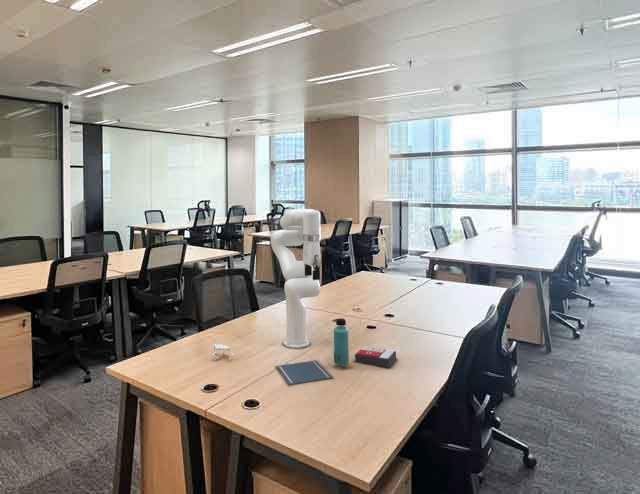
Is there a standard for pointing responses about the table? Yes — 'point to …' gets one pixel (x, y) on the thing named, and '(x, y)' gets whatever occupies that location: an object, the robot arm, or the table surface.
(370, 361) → the black buttoned block
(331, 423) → the table surface
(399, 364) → the table surface
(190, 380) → the table surface
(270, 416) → the table surface
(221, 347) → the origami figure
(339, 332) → the beverage bottle
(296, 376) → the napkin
